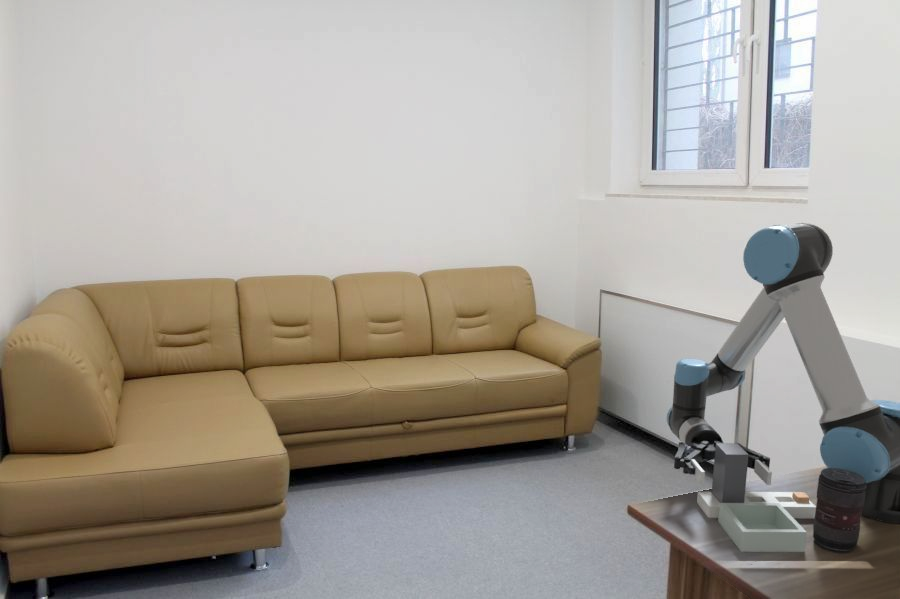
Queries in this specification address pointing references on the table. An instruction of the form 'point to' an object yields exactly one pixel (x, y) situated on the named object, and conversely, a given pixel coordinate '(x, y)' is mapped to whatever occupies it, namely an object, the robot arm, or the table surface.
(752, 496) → the strip
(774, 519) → the bin
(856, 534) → the camera lens
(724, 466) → the tall grey pillar
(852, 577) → the table surface
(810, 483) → the table surface
